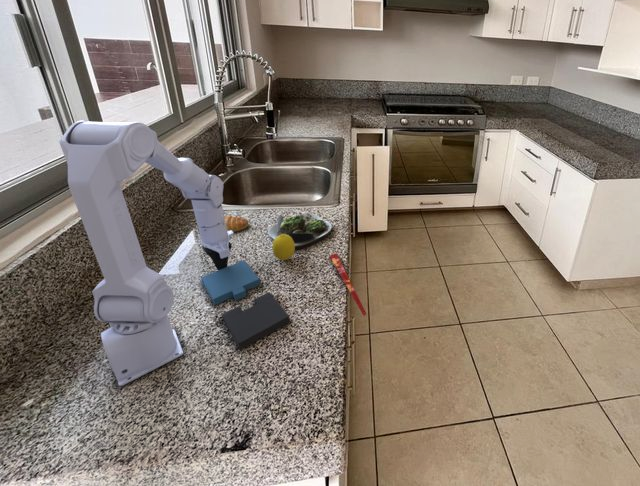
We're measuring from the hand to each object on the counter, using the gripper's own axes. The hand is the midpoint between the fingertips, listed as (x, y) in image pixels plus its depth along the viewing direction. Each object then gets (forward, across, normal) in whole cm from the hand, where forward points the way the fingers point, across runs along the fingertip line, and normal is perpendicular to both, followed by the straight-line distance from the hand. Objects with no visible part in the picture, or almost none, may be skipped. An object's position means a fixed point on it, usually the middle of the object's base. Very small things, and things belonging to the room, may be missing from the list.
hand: (222, 268), depth 87 cm
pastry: (+1, +21, -8) cm, 22 cm away
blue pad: (+1, -6, 0) cm, 6 cm away
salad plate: (+1, +3, -23) cm, 23 cm away
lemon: (+1, -6, -14) cm, 15 cm away
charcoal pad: (+1, -22, 0) cm, 22 cm away
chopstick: (+1, -25, -21) cm, 33 cm away
